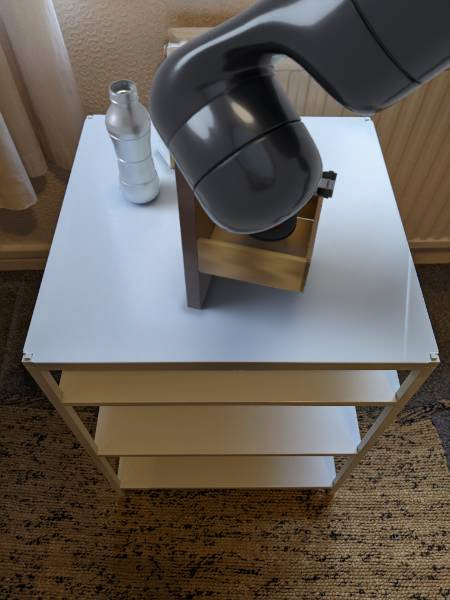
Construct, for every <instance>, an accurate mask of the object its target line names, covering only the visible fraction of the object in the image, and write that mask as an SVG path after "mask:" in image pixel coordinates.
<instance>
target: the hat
mask: <svg viewBox="0 0 450 600" xmlns="http://www.w3.org/2000/svg"><path fill="white" fill-rule="evenodd" d="M297 218H298V217H297V216H296V213H295V214H294V215H293V216H291V217H290V218H288V219H287V220H285V221H284V222H282V223H280V224H279V225H277V226H275V227H272V228H270V229H268V230H265V231H262V232H257V233H253V234H249V235H250V236H251V237H253V238H255V239H257V240H261V241H265V242H276V241H280V240H283V239H285V238H287V237H289V236H290V235H291V234H292V233H293V232H294V230H295V228H296V224H297Z"/></svg>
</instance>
